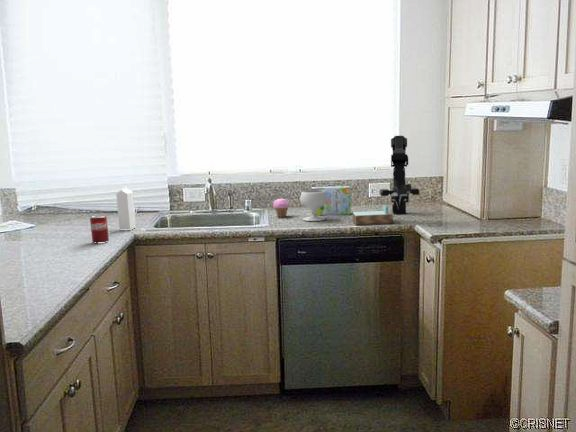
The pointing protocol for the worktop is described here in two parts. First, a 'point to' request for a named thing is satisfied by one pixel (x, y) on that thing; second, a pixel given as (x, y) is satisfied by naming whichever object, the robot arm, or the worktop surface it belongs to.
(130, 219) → the milk
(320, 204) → the chalice
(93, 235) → the soda can
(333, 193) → the snack box
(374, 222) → the walnut box
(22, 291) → the worktop surface
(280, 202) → the cupcake
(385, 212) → the lid
